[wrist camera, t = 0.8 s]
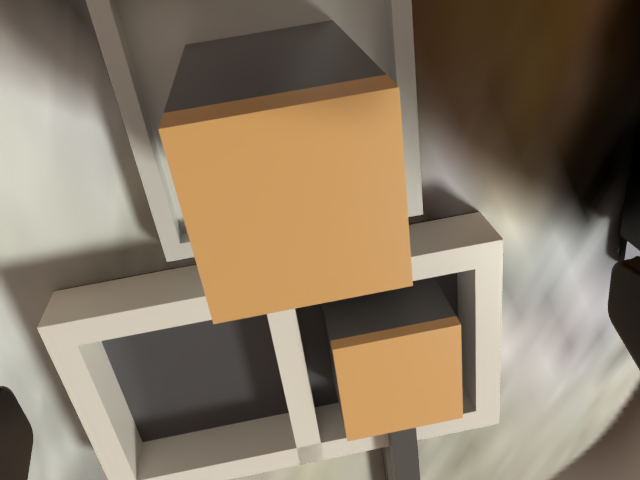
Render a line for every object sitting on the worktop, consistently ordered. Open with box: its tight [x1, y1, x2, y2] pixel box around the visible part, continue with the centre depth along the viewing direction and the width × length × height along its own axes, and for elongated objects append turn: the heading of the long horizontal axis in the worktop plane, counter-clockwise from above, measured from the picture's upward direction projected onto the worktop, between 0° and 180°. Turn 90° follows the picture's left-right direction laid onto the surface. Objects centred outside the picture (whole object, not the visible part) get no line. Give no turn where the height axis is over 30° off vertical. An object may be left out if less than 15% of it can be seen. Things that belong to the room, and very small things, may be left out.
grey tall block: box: [158, 20, 413, 324], centre depth 15 cm, size 4×4×8 cm
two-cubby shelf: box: [37, 212, 503, 480], centre depth 23 cm, size 16×9×2 cm, turn 98°
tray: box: [86, 0, 423, 262], centre depth 19 cm, size 9×9×1 cm
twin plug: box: [321, 277, 463, 480], centre depth 25 cm, size 4×12×4 cm, turn 8°
